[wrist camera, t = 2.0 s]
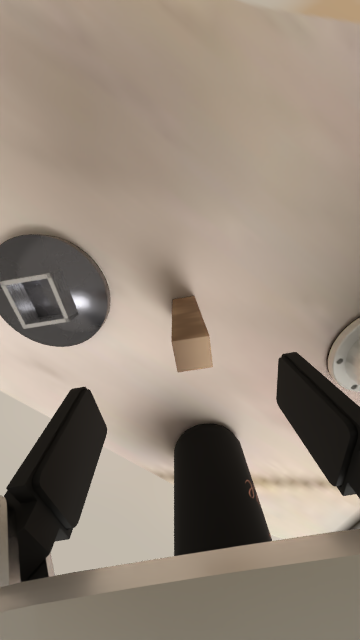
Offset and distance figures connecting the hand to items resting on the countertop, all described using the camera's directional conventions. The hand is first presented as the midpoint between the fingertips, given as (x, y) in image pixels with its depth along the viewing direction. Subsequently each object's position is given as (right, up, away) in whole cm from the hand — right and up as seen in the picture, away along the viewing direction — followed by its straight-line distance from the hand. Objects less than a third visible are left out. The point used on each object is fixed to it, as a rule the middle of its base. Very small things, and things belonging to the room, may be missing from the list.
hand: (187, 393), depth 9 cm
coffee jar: (+4, -17, +22) cm, 28 cm away
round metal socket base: (-14, +7, +12) cm, 20 cm away
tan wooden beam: (0, +5, +13) cm, 14 cm away
